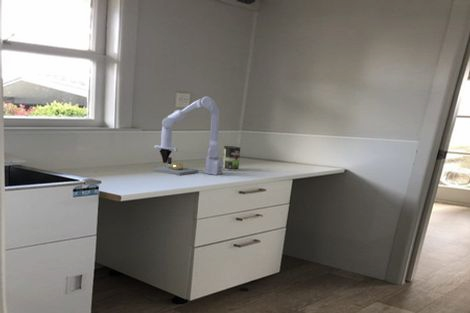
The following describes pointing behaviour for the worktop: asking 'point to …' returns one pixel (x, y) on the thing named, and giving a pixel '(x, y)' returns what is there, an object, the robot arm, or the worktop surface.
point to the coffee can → (231, 158)
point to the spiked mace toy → (174, 166)
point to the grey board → (173, 171)
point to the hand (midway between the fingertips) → (164, 162)
